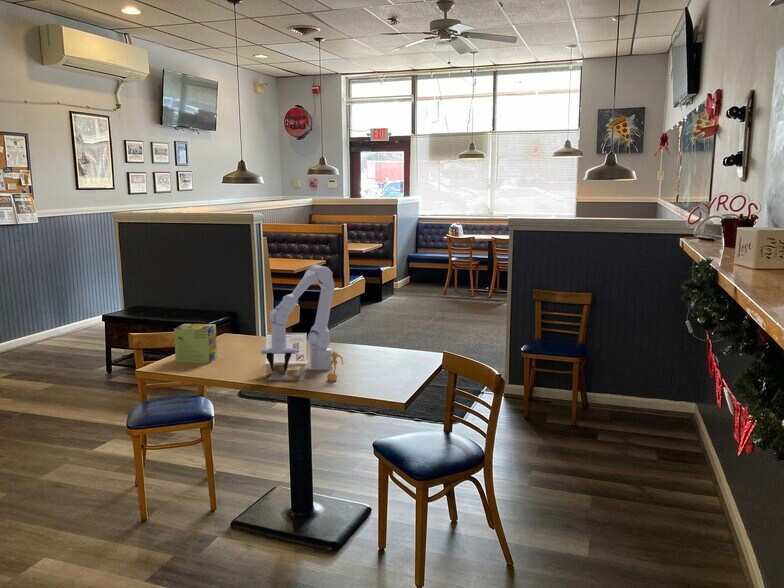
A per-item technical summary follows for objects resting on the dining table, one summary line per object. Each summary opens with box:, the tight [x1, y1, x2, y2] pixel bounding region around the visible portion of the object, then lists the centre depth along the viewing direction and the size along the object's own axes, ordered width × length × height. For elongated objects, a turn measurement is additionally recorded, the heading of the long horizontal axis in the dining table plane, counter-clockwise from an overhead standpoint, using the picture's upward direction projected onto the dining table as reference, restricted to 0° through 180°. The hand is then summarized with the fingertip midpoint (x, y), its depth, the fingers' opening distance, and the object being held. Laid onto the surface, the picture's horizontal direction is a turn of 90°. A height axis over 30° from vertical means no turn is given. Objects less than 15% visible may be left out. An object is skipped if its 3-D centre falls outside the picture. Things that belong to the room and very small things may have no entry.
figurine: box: [324, 350, 344, 382], centre depth 243 cm, size 8×6×12 cm
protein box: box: [173, 323, 218, 365], centre depth 272 cm, size 10×15×16 cm
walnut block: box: [272, 361, 286, 375], centre depth 252 cm, size 4×4×4 cm
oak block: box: [286, 365, 302, 381], centre depth 246 cm, size 5×5×4 cm
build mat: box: [267, 370, 308, 381], centre depth 249 cm, size 14×12×1 cm
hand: (279, 370), depth 252 cm, fingers closed on walnut block, 5 cm apart
